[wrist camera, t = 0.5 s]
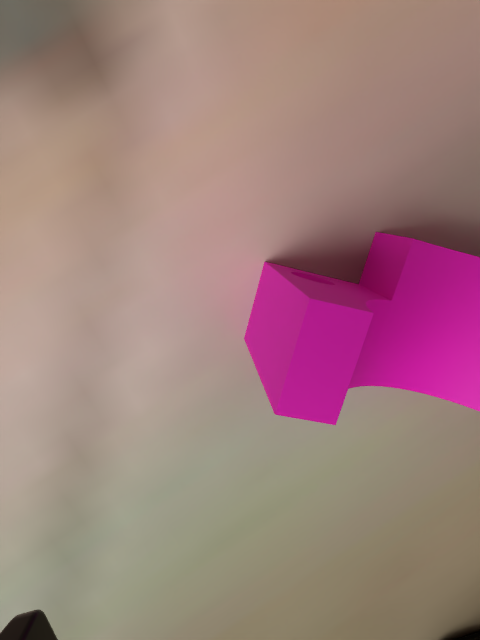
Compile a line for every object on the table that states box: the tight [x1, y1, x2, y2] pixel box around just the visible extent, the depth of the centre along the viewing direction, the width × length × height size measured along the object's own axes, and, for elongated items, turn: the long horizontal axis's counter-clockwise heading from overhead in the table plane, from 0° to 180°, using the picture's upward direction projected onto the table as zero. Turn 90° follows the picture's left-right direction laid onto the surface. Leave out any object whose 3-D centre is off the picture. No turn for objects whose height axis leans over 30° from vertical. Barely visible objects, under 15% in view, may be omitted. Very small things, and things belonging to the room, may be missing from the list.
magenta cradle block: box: [244, 232, 480, 425], centre depth 17 cm, size 15×6×8 cm, turn 76°
